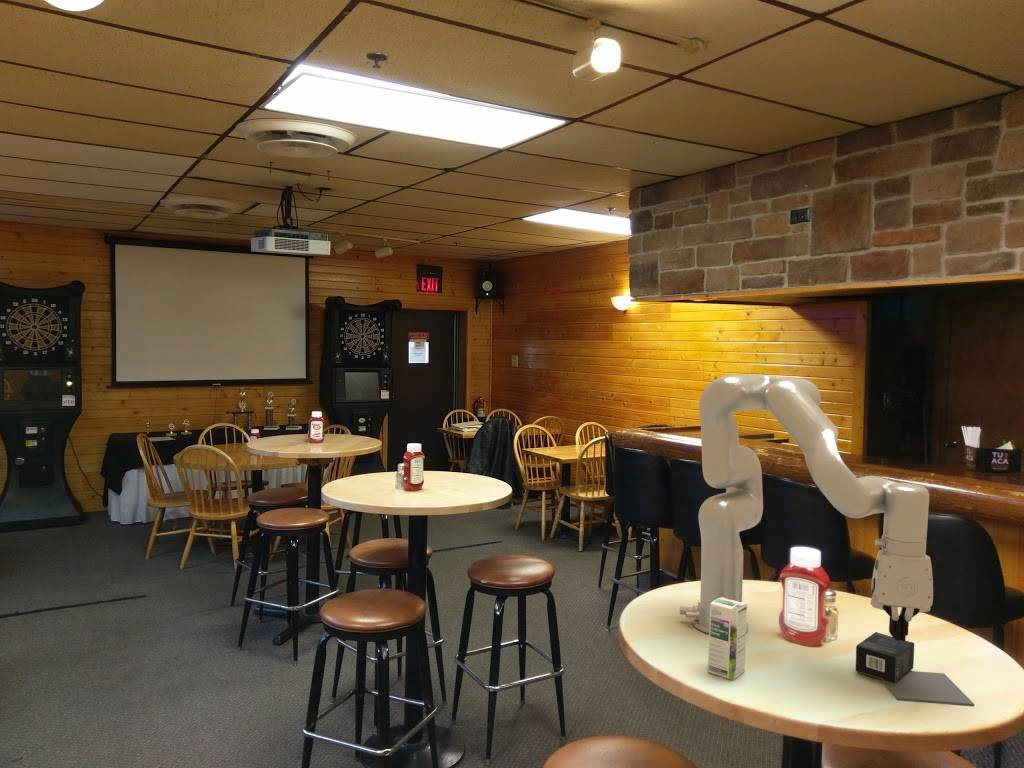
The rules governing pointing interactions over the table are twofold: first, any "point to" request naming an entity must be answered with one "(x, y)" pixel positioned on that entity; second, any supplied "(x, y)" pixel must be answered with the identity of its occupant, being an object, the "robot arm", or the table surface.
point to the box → (884, 657)
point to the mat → (928, 689)
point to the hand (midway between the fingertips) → (898, 638)
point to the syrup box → (727, 638)
